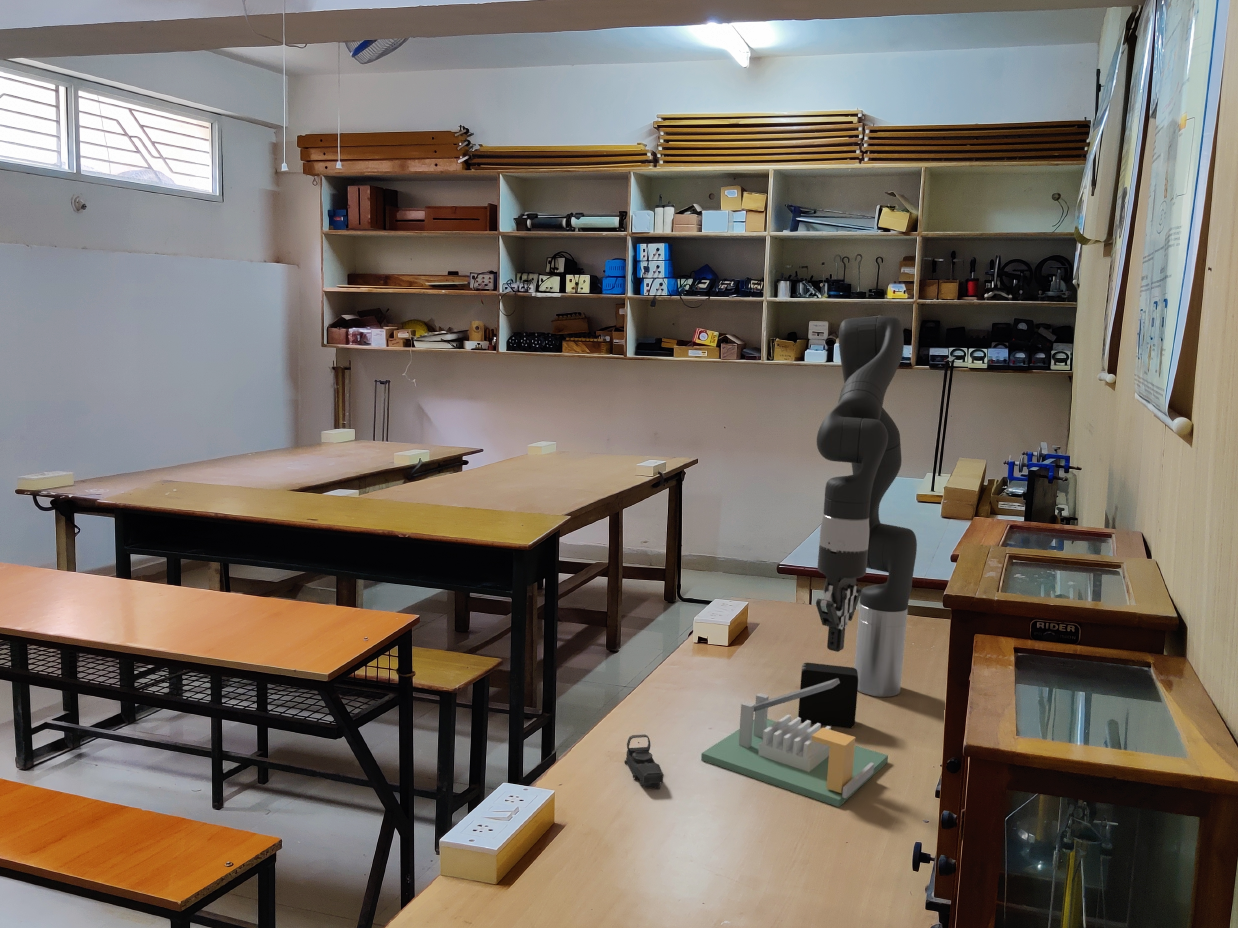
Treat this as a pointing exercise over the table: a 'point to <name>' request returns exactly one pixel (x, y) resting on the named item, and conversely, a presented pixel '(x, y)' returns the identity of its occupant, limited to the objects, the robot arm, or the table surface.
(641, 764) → the reflex sight
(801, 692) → the strap
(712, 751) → the slotted rack on board
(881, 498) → the robot arm
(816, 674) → the electronic device
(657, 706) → the table surface
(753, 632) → the table surface
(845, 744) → the clip
